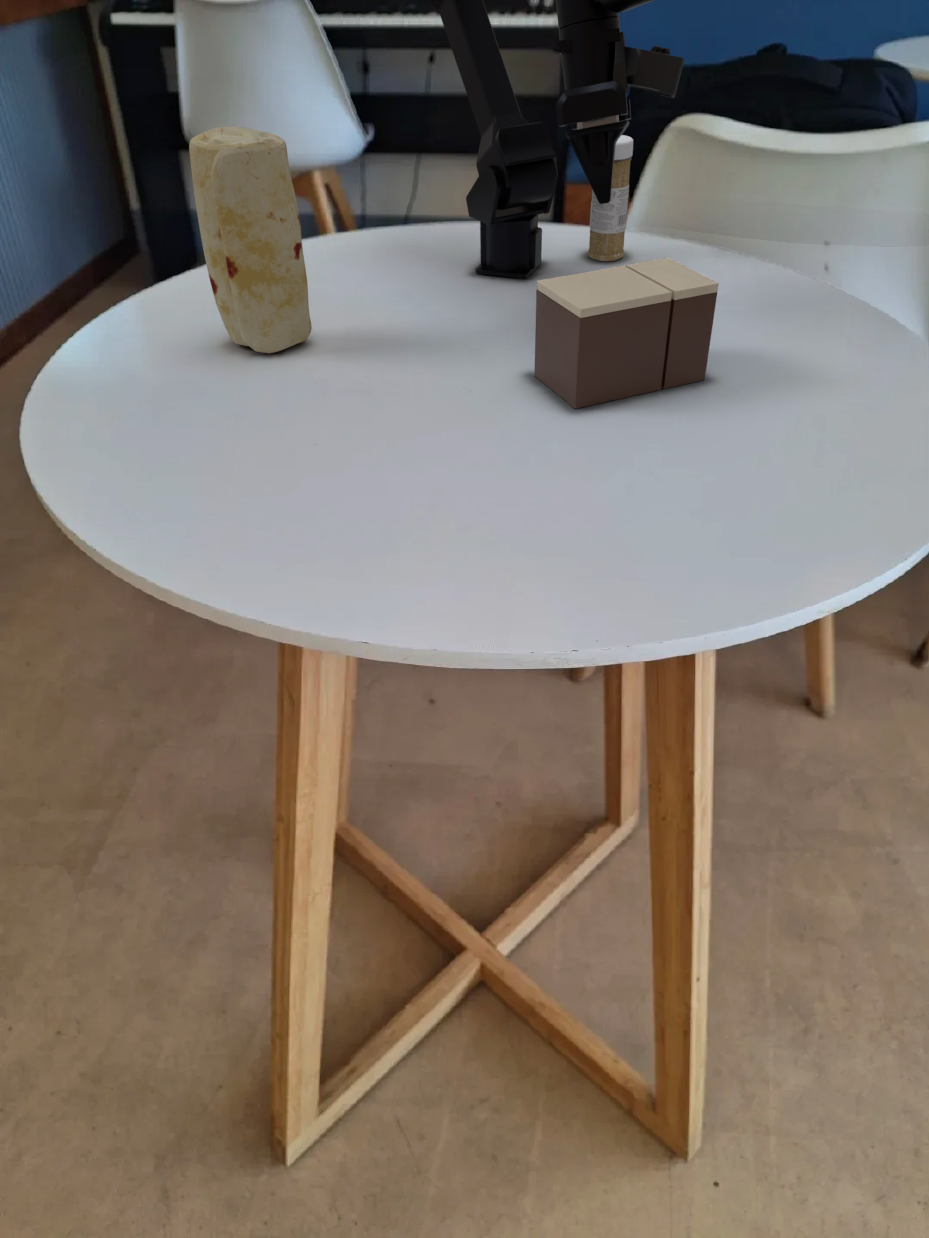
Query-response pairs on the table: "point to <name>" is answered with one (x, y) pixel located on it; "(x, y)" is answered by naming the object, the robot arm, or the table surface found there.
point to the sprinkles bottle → (612, 208)
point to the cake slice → (684, 319)
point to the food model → (251, 236)
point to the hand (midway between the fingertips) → (604, 203)
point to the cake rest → (601, 335)
